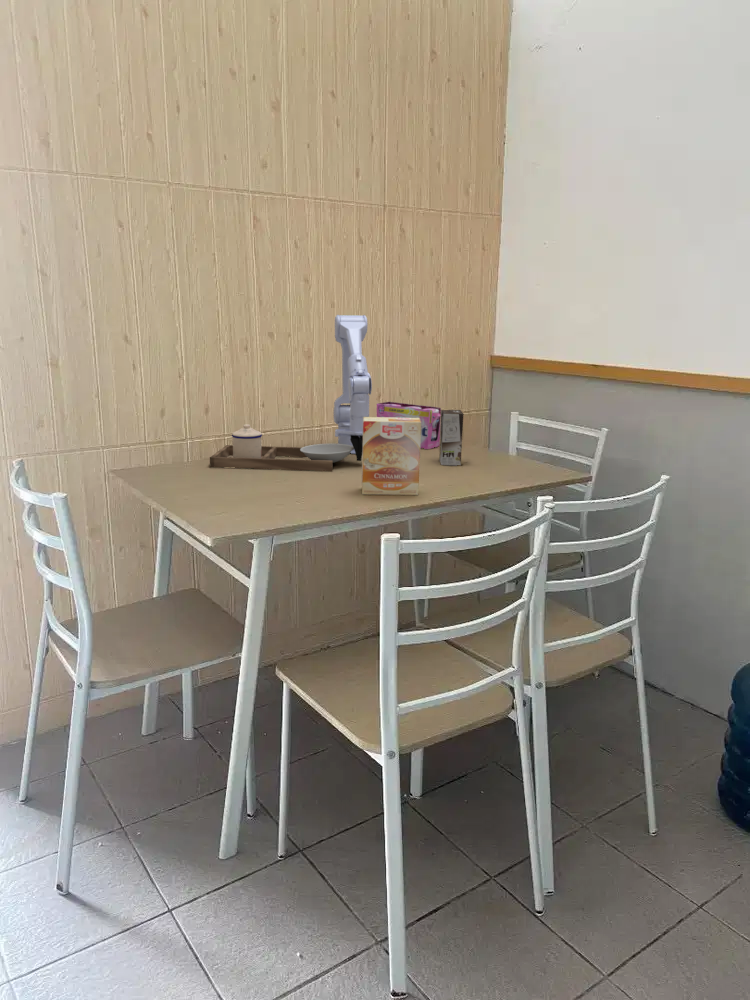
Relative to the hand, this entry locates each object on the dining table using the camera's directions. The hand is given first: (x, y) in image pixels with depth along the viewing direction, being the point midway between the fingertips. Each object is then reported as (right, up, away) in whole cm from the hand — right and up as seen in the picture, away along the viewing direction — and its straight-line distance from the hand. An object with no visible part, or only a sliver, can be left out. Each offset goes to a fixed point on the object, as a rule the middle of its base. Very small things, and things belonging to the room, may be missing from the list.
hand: (359, 460), depth 229 cm
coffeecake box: (+9, -10, -30) cm, 33 cm away
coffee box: (+28, -1, +6) cm, 29 cm away
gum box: (+16, +7, +35) cm, 40 cm away
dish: (-10, -1, +1) cm, 10 cm away
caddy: (-25, -1, +2) cm, 25 cm away
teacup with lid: (-35, 0, +2) cm, 35 cm away
